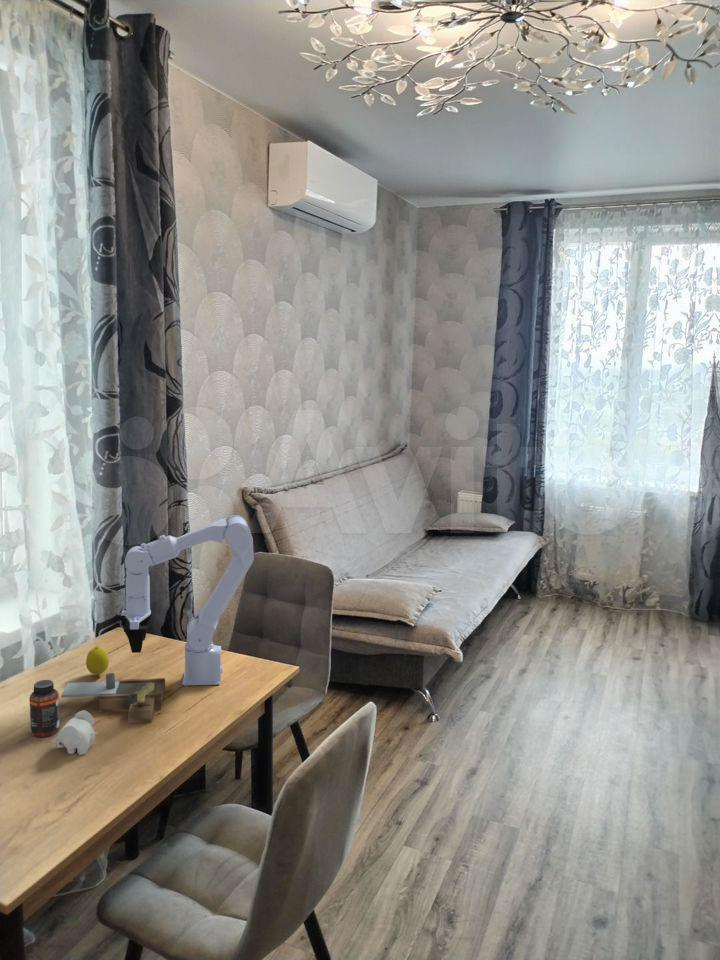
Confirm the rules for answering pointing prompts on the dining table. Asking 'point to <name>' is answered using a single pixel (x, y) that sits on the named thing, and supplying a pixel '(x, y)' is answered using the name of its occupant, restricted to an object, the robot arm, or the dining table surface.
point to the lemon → (97, 660)
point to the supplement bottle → (44, 709)
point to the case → (137, 712)
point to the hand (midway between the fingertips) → (138, 646)
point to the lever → (140, 695)
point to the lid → (92, 688)
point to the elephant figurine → (77, 733)
